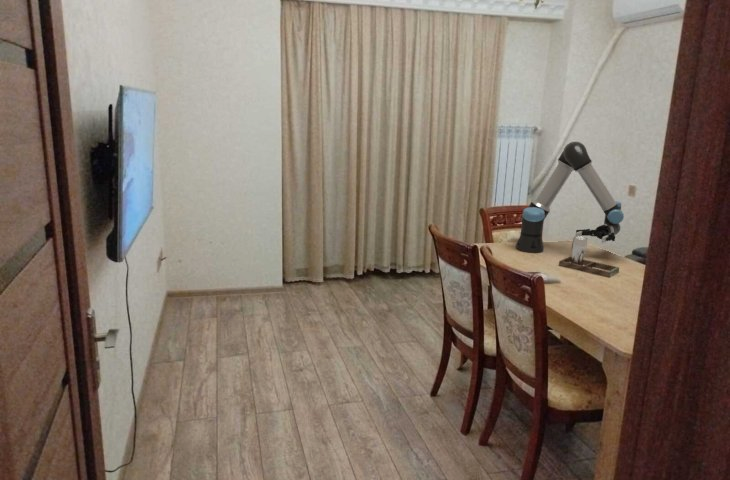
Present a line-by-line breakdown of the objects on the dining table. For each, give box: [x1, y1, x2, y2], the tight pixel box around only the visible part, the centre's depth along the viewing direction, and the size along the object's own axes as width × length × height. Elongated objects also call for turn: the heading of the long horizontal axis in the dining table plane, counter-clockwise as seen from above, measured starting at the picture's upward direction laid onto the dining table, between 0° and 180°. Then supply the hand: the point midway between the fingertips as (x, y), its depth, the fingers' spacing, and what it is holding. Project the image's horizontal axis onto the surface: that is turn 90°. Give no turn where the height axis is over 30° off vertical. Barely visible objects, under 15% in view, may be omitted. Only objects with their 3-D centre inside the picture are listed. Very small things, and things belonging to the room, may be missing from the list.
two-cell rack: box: [558, 256, 620, 278], centre depth 258 cm, size 25×13×2 cm, turn 46°
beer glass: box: [570, 236, 588, 266], centre depth 261 cm, size 7×7×15 cm
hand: (589, 237), depth 266 cm, fingers open, 13 cm apart
